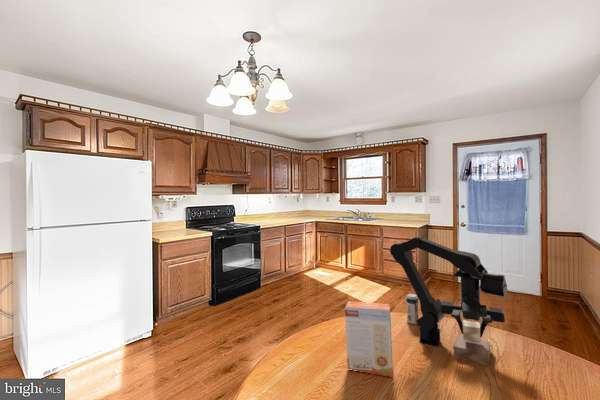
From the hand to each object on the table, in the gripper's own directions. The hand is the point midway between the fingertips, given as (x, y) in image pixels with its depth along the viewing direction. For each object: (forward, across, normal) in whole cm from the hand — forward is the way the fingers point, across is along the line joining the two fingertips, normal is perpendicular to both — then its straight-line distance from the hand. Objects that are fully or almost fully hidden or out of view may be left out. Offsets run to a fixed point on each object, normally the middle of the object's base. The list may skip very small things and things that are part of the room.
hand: (471, 335), depth 99 cm
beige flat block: (+7, 0, 0) cm, 7 cm away
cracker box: (+7, -29, -24) cm, 38 cm away
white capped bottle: (+7, -22, +18) cm, 29 cm away
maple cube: (+1, 0, 0) cm, 1 cm away
